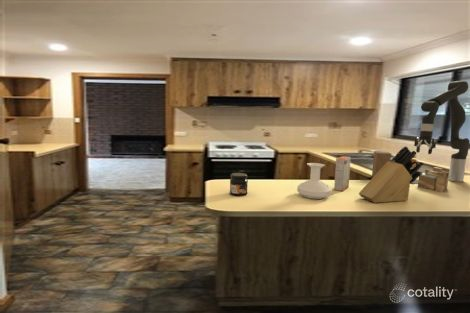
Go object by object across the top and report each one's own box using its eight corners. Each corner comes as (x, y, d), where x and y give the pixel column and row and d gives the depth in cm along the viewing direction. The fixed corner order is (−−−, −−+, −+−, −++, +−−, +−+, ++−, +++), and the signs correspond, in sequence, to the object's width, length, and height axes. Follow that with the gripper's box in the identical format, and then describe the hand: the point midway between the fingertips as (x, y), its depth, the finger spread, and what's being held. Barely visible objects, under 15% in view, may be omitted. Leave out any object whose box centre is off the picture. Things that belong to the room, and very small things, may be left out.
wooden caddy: (431, 184, 221) (433, 167, 219) (454, 190, 206) (456, 172, 204) (417, 186, 215) (419, 168, 213) (440, 192, 201) (443, 173, 199)
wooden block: (388, 179, 235) (391, 153, 232) (374, 178, 237) (377, 152, 234) (385, 176, 245) (387, 151, 242) (371, 176, 247) (374, 151, 244)
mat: (411, 178, 240) (411, 178, 240) (427, 182, 228) (427, 181, 228) (397, 180, 234) (397, 179, 234) (412, 184, 222) (413, 183, 222)
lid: (432, 175, 220) (433, 166, 219) (448, 178, 210) (450, 169, 209) (418, 176, 214) (419, 167, 213) (434, 180, 204) (435, 170, 203)
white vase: (317, 190, 196) (319, 161, 193) (338, 199, 177) (341, 166, 175) (290, 193, 189) (292, 162, 186) (308, 202, 171) (311, 168, 168)
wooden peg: (427, 173, 213) (428, 169, 213) (445, 177, 202) (446, 172, 202) (424, 173, 212) (425, 169, 212) (443, 177, 201) (443, 173, 201)
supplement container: (231, 197, 177) (231, 176, 176) (228, 192, 188) (228, 172, 186) (249, 196, 179) (249, 176, 178) (245, 191, 190) (245, 172, 188)
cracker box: (339, 186, 210) (342, 155, 207) (348, 187, 207) (351, 156, 204) (333, 190, 199) (335, 158, 196) (342, 191, 195) (345, 159, 192)
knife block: (421, 200, 181) (427, 147, 176) (371, 204, 171) (376, 148, 166) (405, 195, 191) (411, 145, 187) (357, 198, 181) (362, 146, 177)
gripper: (440, 131, 212) (436, 154, 214) (420, 129, 225) (417, 151, 227) (433, 131, 209) (429, 154, 211) (413, 129, 222) (410, 151, 224)
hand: (423, 153), depth 219 cm, fingers open, 8 cm apart
